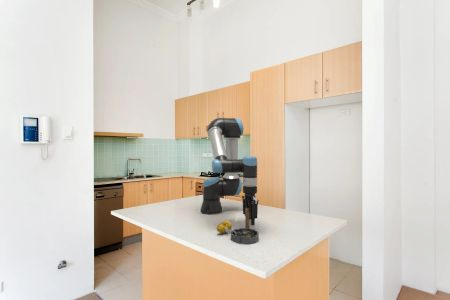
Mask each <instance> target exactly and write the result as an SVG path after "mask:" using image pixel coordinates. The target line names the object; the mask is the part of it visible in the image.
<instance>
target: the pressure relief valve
mask: <svg viewBox="0 0 450 300" xmlns="http://www.w3.org/2000/svg"><path fill="white" fill-rule="evenodd" d="M232 224H233V223H231V222H230V221H229V220H225V221H222V223H221V224H218V225H217V226H216V231H217V232H218V233H219V234H221V235H222V234H223V235H224V232H226V233H227V234H230V235H231V231H233V230H232V227H233V225H232ZM233 232H235V231H233ZM235 234H236V236H237V233H236V232H235Z"/></svg>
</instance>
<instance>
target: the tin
mask: <svg viewBox="0 0 450 300" xmlns="http://www.w3.org/2000/svg"><path fill="white" fill-rule="evenodd" d="M233 231H235V232H236V233H237V236H236V234H235V232H233ZM259 234H260V233H259V231H258V230H256V229H255V230H253V229H248V228H245V227H244V228H242V227H241V228H235V229H232V230H231V234H230V240H231V241H232V243H236V244H240V245H252V244H256V243H258V242H259V240H260V239H259Z"/></svg>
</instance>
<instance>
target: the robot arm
mask: <svg viewBox="0 0 450 300" xmlns="http://www.w3.org/2000/svg"><path fill="white" fill-rule="evenodd" d="M206 131H207V133H206V134H207V136H208V138H209V140H210V144H211V148H212V149H211V150H212V155H213V159H212V161H211V171H212V173H213V174H224V175H223V176H222V179H221V178H220V177H218V176H217V177H215V176H213V177H208V178H205V179H204V180H203V181H202V203H201V207H200V213H201V214H205V215H218V214H222V213H223V207H222V203H221V197H230V196H231V197H235V196H239V195H240V194H241V192H242V193H244V195H242V196H241V199H242V215H244V216H245V208H249V209H250V218H249V229H253V230H256V228H255V227H256V226H255V221H256V219H258V213H259V211H258V210H259V209H258V207H259V206H258V205H259V199H257V198H256V194H257V193H258V186H257V185H258V158H257V156H256V155H255V156H254V155H251V156H250V155H248V156H247V155H246V156H245V155H244V156H242V158H239V157H238V156H239V154H238V153H239V140H240V139H241V136H243V135H244V124H243V122H242V119H241V118H235V117H228V118H227V117H226V118H225V117H217V118H215V119H212V120H211V122H210V123H209V124H208V127H207V130H206ZM224 140H225V145H224ZM238 173H239V174H240V173H242V179H241V178H240V176H239V175H238Z"/></svg>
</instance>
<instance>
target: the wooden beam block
mask: <svg viewBox="0 0 450 300" xmlns="http://www.w3.org/2000/svg"><path fill="white" fill-rule="evenodd" d="M244 218H245V222H244V223H245V227H244V228H248V229H249V218H250V209H249V208H245V215H244Z"/></svg>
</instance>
